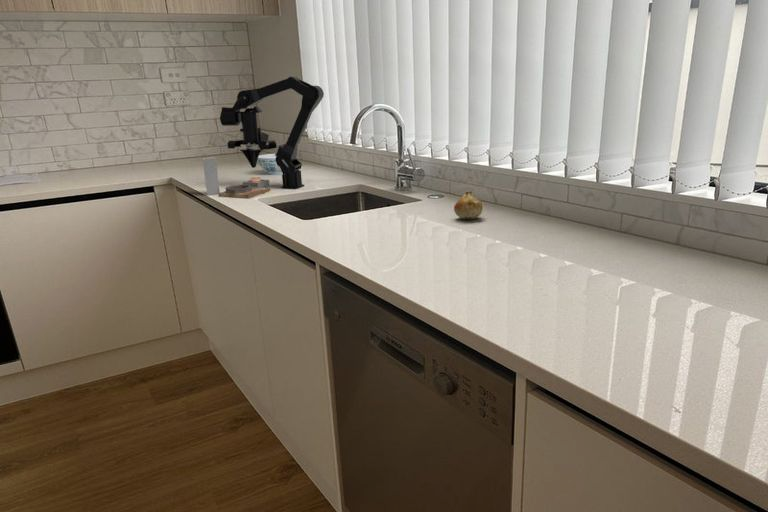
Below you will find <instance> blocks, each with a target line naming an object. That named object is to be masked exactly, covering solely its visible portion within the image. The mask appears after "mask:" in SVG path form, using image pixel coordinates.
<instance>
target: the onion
mask: <svg viewBox="0 0 768 512" xmlns="http://www.w3.org/2000/svg"><path fill="white" fill-rule="evenodd" d="M453 210H454V211H453V212H454V213H455V215H456V216H457V217H459V218H460V219H462V220H466V219H472V220H474V219H477V218H479V216H481V214H483V204H482V202H481V200H479V199H477V198H476V197H475V195H474V192H473V190H472V189H471V190H466V191H465V193H464V195H462V196H461V197H460V198H459V200H457V202H456V203H455V204H454V207H453Z"/></svg>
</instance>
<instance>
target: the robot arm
mask: <svg viewBox="0 0 768 512" xmlns="http://www.w3.org/2000/svg"><path fill="white" fill-rule="evenodd" d="M291 89H292V90H293V91H295V92H296V93H297V94H299V95H301V96H302V98H301V107H300V109H299V112H298V114H297V117H296V119H295V121H294V124H293V127H292V129H291V131H290V134H289V136H288V138H287V140H286V143H283V144H280V145H278V148H277V143H276V140H272V139H269V137H270V136H269V135H270V134H268V133H265V132H262V131H261V130H262V129H261V127H259V124H258V113H262V112H263V110H262V109H261V108H260V107H259V106H258V105H257V104H259V103H260V102H262V101H263V100H265V99H267V98H269V97H272V96H274V95H277V94H280V93H283V92H286V91H290V90H291ZM324 95H325V94H324V90H323V88H322V87H320V86H319V85H312V84H310V83H308V82H307V81H304V80H301V79H299V78H298V77H297V76H289V77H287V78H285V79H282V80H280V81H277V82H274V83H271V84H268V85H264V86H263V87H259V88H253V89H246V90H241V91H239V92H238V93H237V97H236V101H235V103H234V104H233V106H232V107H228V106H223V107H221V111H220V115H219V120H220V121H219V122H220V123H221V125H222V126H224V127H229V126H231V127H233V126H234V127H236V126H239V125H240V124H241V128H239V132H241V133H242V138H243V139H233V140H229V141H227V149H233V150H234V149H235V148H237V147H240V149H239V150H240V152H242V153H243V155H244V156H245V158H246V159H247V161H248V163H249V165H250V167H251V168H252V169H253V168H256V167H257V163H258V161H257V160H258V156H259V155H260V153H262V151H264V150H266V151H267V150H273V149H277V152H276V153H274V154H275V156H276V159H275V161H276V163H277V165H278V166H279V167H280V168H281V171H282V175H281V179H282V186H281V188H282V189H291V188H293V189H294V188H296V189H298V187H299V188H301V186H302V187H305V184H303V179H302V178H303V177H302V170H301V169H302V166H303V163H302V162H301V161H299V159H297V157H298V156H297V155H298V148H299V144H300V142H301V139H302V137H303V136H304V135H303V134H304V132H305V130H306V127H307V126H308V123H309V122H310V119H311V117H312V114H313V112H314V111H315V110H316V108H317V107H318V106H319V104H321V103H320V102H322V100H323V98H324ZM241 110H242V111H241Z"/></svg>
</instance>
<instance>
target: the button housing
mask: <svg viewBox="0 0 768 512" xmlns="http://www.w3.org/2000/svg"><path fill="white" fill-rule="evenodd" d="M242 185H250V186H251V187H257V188H269V187H270V179H264V178H263V179H262V178H261V181H260V182H251V181H250V179H249V180H246V181H243V182H242ZM268 186H269V187H268Z"/></svg>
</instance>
